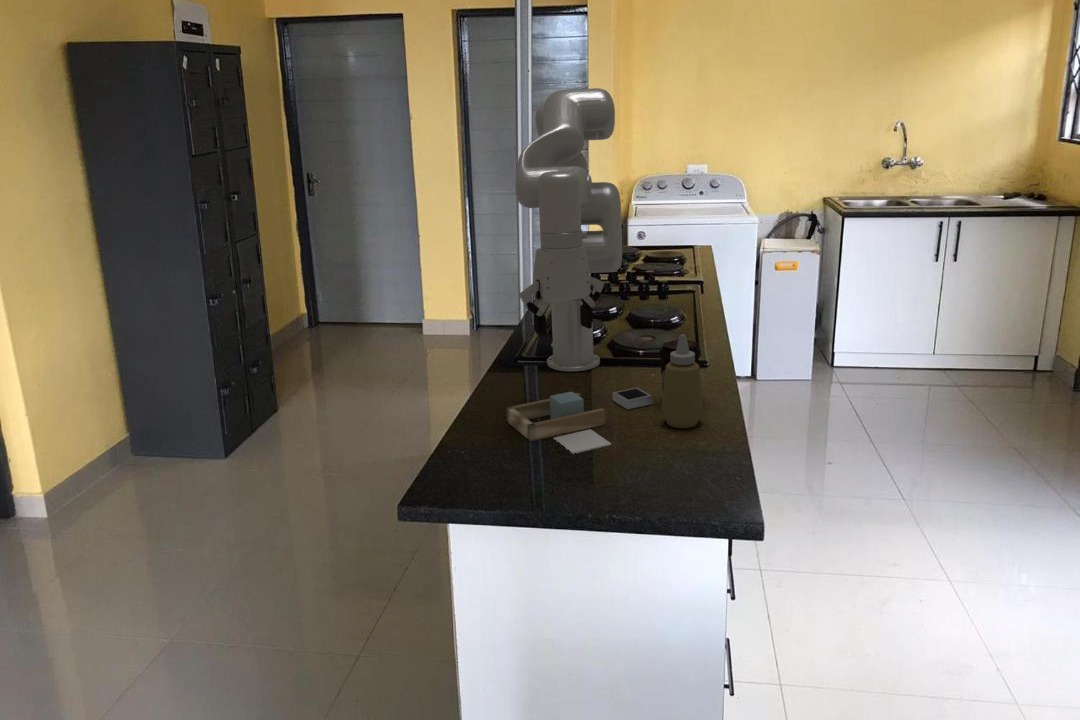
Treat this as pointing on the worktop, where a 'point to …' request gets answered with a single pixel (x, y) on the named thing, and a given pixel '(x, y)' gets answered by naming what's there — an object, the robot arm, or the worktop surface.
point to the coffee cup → (672, 346)
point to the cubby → (552, 427)
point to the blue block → (565, 405)
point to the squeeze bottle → (682, 388)
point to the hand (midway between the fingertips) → (564, 330)
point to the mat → (582, 441)
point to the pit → (632, 398)
